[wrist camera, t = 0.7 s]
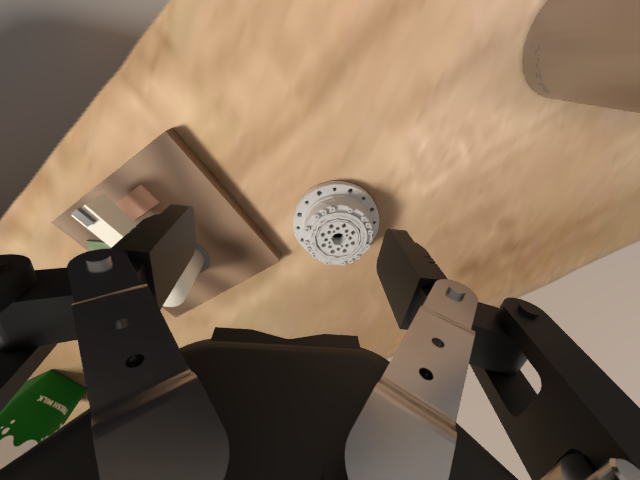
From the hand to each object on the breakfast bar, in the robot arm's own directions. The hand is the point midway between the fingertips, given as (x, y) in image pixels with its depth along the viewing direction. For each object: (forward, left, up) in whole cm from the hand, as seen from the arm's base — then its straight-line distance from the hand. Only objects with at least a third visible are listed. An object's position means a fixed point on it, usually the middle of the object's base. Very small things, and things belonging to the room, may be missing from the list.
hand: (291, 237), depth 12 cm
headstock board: (+20, +2, -20) cm, 28 cm away
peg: (+20, 0, -18) cm, 26 cm away
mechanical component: (+2, +10, -20) cm, 22 cm away
